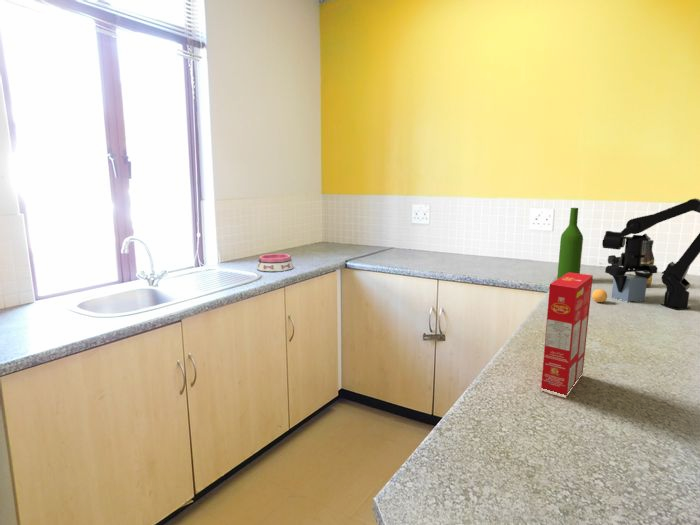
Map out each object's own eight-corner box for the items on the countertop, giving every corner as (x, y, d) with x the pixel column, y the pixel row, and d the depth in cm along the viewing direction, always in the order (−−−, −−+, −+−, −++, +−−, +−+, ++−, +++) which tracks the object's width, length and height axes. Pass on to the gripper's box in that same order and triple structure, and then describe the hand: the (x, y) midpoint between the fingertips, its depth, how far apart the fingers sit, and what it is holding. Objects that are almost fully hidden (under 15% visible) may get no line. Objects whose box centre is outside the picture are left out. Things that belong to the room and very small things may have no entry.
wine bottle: (582, 283, 201) (590, 208, 194) (562, 283, 201) (568, 208, 194) (573, 278, 209) (580, 207, 203) (553, 278, 210) (559, 207, 203)
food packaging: (559, 369, 114) (568, 272, 109) (582, 375, 111) (592, 275, 106) (540, 391, 103) (549, 284, 98) (565, 398, 100) (576, 288, 95)
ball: (609, 303, 170) (611, 290, 169) (598, 304, 169) (599, 291, 168) (599, 300, 175) (600, 287, 174) (588, 300, 174) (589, 288, 173)
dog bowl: (255, 266, 240) (254, 253, 239) (290, 264, 246) (289, 251, 244) (259, 274, 223) (258, 260, 222) (296, 271, 229) (296, 258, 227)
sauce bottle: (650, 288, 191) (656, 241, 187) (632, 286, 195) (638, 240, 191) (651, 285, 196) (657, 239, 192) (634, 283, 200) (640, 238, 196)
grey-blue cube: (644, 300, 173) (647, 278, 172) (627, 302, 172) (630, 279, 170) (627, 295, 181) (630, 273, 179) (611, 296, 179) (613, 275, 177)
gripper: (636, 246, 182) (631, 284, 185) (596, 248, 178) (592, 287, 181) (660, 251, 172) (655, 291, 175) (619, 253, 167) (614, 295, 170)
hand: (628, 291), depth 175 cm, fingers closed on grey-blue cube, 8 cm apart
